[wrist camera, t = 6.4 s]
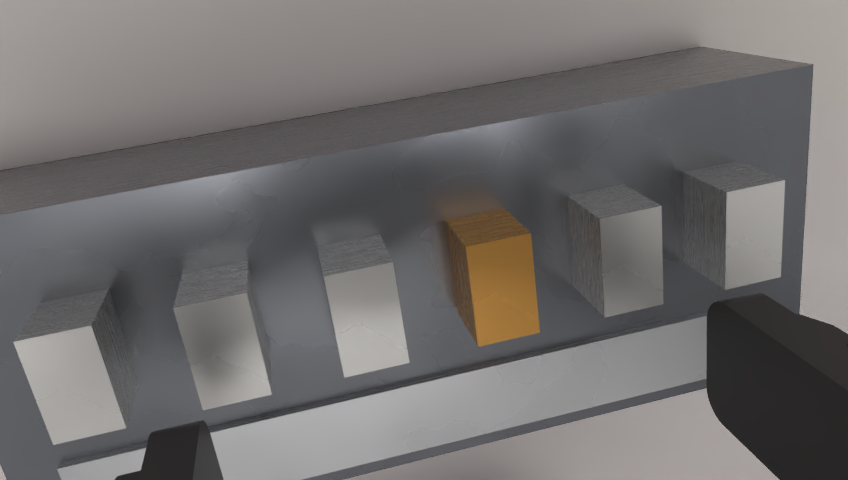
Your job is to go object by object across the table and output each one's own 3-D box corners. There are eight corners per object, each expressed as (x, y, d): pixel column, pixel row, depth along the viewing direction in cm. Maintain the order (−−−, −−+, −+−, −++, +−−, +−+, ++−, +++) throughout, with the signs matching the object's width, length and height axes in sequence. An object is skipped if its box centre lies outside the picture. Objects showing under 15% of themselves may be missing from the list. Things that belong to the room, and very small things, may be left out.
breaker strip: (702, 46, 18) (871, 73, 13) (701, 296, 21) (843, 399, 16) (-16, 173, 16) (-144, 266, 11) (83, 439, 18) (16, 615, 13)
